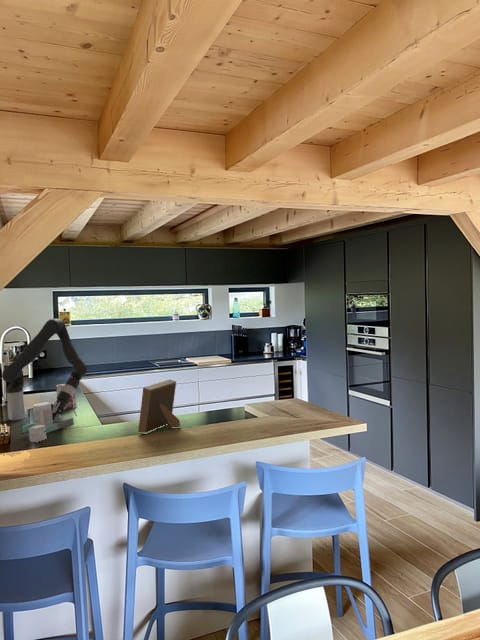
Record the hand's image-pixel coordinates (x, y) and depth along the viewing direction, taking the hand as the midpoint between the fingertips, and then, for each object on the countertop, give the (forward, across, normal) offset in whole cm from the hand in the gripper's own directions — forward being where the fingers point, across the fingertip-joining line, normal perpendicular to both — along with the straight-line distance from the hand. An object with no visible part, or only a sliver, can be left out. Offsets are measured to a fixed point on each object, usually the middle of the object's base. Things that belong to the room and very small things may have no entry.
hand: (51, 419), depth 272 cm
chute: (+4, 0, +2) cm, 5 cm away
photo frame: (-8, +69, +14) cm, 71 cm away
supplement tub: (+7, 0, 0) cm, 7 cm away
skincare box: (+17, +15, -11) cm, 25 cm away
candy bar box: (-22, -30, +29) cm, 47 cm away
